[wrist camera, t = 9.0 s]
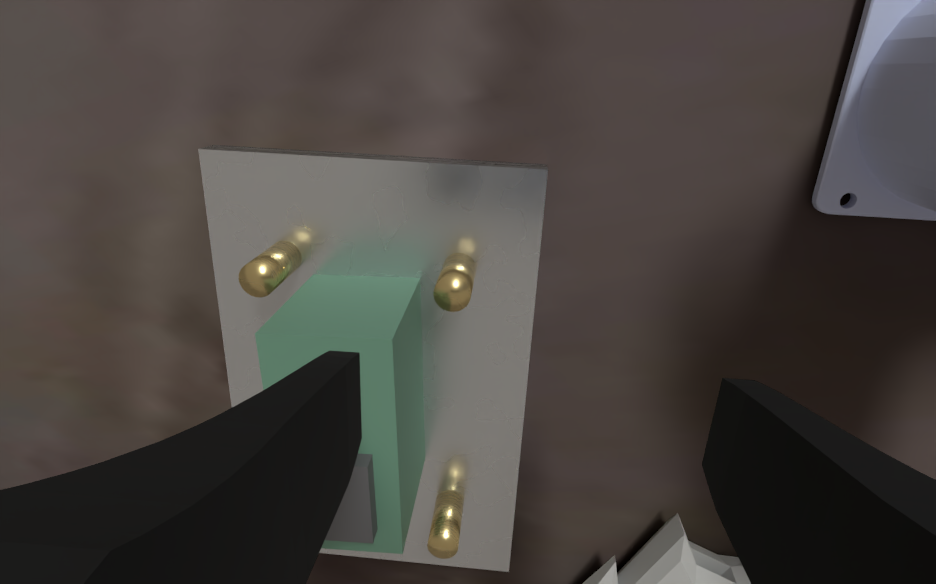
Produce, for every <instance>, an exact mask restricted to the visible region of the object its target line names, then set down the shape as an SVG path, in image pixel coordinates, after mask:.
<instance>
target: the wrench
mask: <svg viewBox="0 0 936 584" xmlns="http://www.w3.org/2000/svg"><path fill="white" fill-rule="evenodd" d="M582 584H751V582H750V580H749V578H748V576H747V574H746V572H745V570H744V568H743V566H742V564H741V562H740V560H739V558H738V557H733V556H725V555H717V554H715V553H713V552H711V551H709V550H707V549H705V548H703V547H701V546H699V545H696V544H694V543H692V542H690V541H688V539H687V536H686V533H685V531H684V528H683V525H682V523H681V520H680V517H679V515H678V513H677V514H676V515H674V516H673V517H672V518H670V519H669V520H668V521H667V522H666V523H665V524H664V525H663V526H662V527H661V528H660V529H659V530H658V531H657V532H656V533H655V534H654V535H653V536H652V537H651V538H650V539H649V540H648V541H647V543H646V544H645V545H644V546H643V547H642V548H641V549H640V550H639V551H638V552H637V553H636V554H635V555H634V556H633V557H632V558H631V559H630V560H629V561H628V562H627V563H626V564H625V565H624V566H623V567H622V568H621V569H620V571H619V572H618V573H617V568H616V559H615V555H614V556H613V557H612V558H611V559H610V560H609V561H607V562H606V563H605V564H604V565H603V566H602V567H601V568H600V569H598V570H597V571H596V572H595V573H594V574H593V575H592V576H590V577H589V578H588V579H587V580H586V581H585V582H584V583H582Z"/></svg>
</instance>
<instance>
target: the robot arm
mask: <svg viewBox="0 0 936 584" xmlns="http://www.w3.org/2000/svg"><path fill="white" fill-rule="evenodd" d="M846 193H850V200H849V202H848V203H846V204H845V205H842V206H841V205H840V199H841V198H842V196H843V195H845V194H846ZM812 204H813V206H814V208H815V209H817V210H818V211H820V212H822V213H826V214H834V215H850V216H866V217H883V218H899V219H915V220H931V221H936V0H866V2H865V6H864V10H863V13H862V17H861V21H860V24H859V28H858V32H857V35H856V39H855V43H854V46H853V50H852V53H851V57H850V61H849V64H848V68H847V72H846V75H845V79H844V83H843V86H842V90H841V94H840V97H839V101H838V104H837V108H836V112H835V115H834V119H833V123H832V126H831V130H830V134H829V137H828V141H827V145H826V148H825V152H824V155H823V159H822V163H821V166H820V170H819V174H818V177H817V181H816V185H815V188H814V192H813V196H812ZM361 439H362V424H361V387H360V353H358V352H344V351H328V352H326V353H324V354H322V355H320V356H319V357H317V358H315V359H314V360H312V361H310V362H309V363H307V364H305V365H304V366H302V367H301V368H299V369H297V370H296V371H294V372H293V373H291V374H289V375H288V376H286V377H284V378H283V379H281V380H280V381H278V382H276V383H275V384H273V385H271V386H270V387H268V388H266V389H265V390H263V391H261V392H260V393H258V394H256V395H254V396H252V397H251V398H249V399H247V400H245V401H243V402H241V403H240V404H238V405H236V406H234V407H232V408H231V409H229V410H227V411H225V412H223V413H221V414H219V415H217V416H215V417H213V418H211V419H209V420H207V421H205V422H203V423H201V424H199V425H197V426H194V427H192V428H190V429H188V430H185V431H183V432H181V433H178V434H176V435H174V436H172V437H169V438H167V439H164V440H162V441H159V442H157V443H154V444H151V445H149V446H146V447H143V448H140V449H137V450H135V451H132V452H129V453H126V454H124V455H121V456H118V457H115V458H112V459H110V460H107V461H104V462H101V463H98V464H95V465H92V466H88V467H85V468H82V469H78V470H75V471H72V472H68V473H65V474H61V475H58V476H54V477H50V478H47V479H43V480H39V481H35V482H32V483H28V484H24V485H20V486H16V487H12V488H8V489H3V490H0V584H306V582H307V580H308V577H309V575H310V573H311V570H312V568H313V566H314V563H315V561H316V559H317V556H318V554H319V552H320V550H321V547H322V545H323V543H324V540H325V538H326V536H327V533H328V531H329V529H330V527H331V524H332V522H333V520H334V517H335V515H336V513H337V510H338V508H339V506H340V503H341V501H342V499H343V496H344V494H345V492H346V489H347V487H348V484H349V482H350V479H351V476H352V472H353V469H354V465H355V462H356V458H357V454H358V451H359V447H360V443H361ZM702 466H703V469H704V473H705V476H706V480H707V483H708V486H709V490H710V493H711V496H712V499H713V502H714V505H715V508H716V511H717V513H718V515H719V517H720V519H721V522H722V524H723V526H724V528H725V530H726V532H727V534H728V537H729V539H730V541H731V543H732V545H733V547H734V549H735V551H736V553H737V555H738V558H739V560H740V562H741V564H742V566H743V568H744V570H745V572H746V574H747V576H748V578H749V580H750V582H751V584H936V480H935V479H933V478H931V477H929V476H927V475H925V474H923V473H921V472H919V471H917V470H915V469H913V468H911V467H909V466H907V465H905V464H904V463H902V462H900V461H898V460H896V459H894V458H892V457H890V456H889V455H887V454H885V453H883V452H881V451H879V450H877V449H876V448H874V447H872V446H870V445H868V444H867V443H865V442H863V441H861V440H860V439H858V438H856V437H854V436H853V435H851V434H849V433H847V432H846V431H844V430H842V429H841V428H839V427H837V426H835V425H834V424H832V423H830V422H829V421H827V420H825V419H824V418H822V417H820V416H819V415H817V414H815V413H813V412H812V411H810V410H808V409H807V408H805V407H803V406H802V405H800V404H798V403H797V402H795V401H793V400H791V399H790V398H788V397H786V396H784V395H783V394H781V393H779V392H777V391H775V390H774V389H772V388H770V387H768V386H766V385H764V384H762V383H759V382H757V381H755V380H742V379H728V378H722V383H721V387H720V391H719V395H718V399H717V403H716V408H715V412H714V416H713V420H712V424H711V428H710V433H709V437H708V441H707V445H706V449H705V454H704V458H703V462H702Z"/></svg>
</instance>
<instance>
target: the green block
mask: <svg viewBox="0 0 936 584" xmlns="http://www.w3.org/2000/svg"><path fill="white" fill-rule="evenodd" d="M255 338H256V345H257V351H258V358H259V365H260V372H261V378H262V385H263V390H265V389H266V388H268V387H270V386H271V385H273V384H275V383H276V382H278V381H280V380H281V379H283V378H284V377H286V376H288V375H289V374H291V373H293V372H294V371H296V370H297V369H299V368H301V367H302V366H304V365H305V364H307V363H309V362H310V361H312V360H314V359H315V358H317V357H319V356H320V355H322V354H324V353H326V352H328V351H344V352H358V353H360V387H361V424H362V439H361V443H360V447H359V451H358V454H357V458H356V462H355V465H354V469H353V472H352V476H351V479H350V482H349V484H348V487H347V489H346V492H345V494H344V496H343V499H342V501H341V503H340V506H339V508H338V510H337V513H336V515H335V517H334V520H333V522H332V524H331V527H330V529H329V531H328V533H327V536H326V538H325V540H324V543H323V545H322V547H321V548H323V549H338V550H352V551H366V552H381V553H395V554H403V551H404V546H405V542H406V538H407V534H408V529H409V525H410V521H411V517H412V512H413V508H414V504H415V500H416V496H417V491H418V487H419V483H420V479H421V474H422V470H423V466H424V462H425V430H424V394H423V357H422V320H421V284H420V278H402V277H373V276H343V275H312V276H311V277H310V278H309V279H308V280H307V281H306V282H305V283H304V284H303V285H302V286H301V287H300V288H299V289H298V290H297V291H296V292H295V293H294V294H293V295H292V296H291V297H290V298H289V299H288V300H287V301H286V302H285V303H284V305H283V306H282V307H281V308H280V309H279V310H278V311H277V312H276V313H275V314H274V315H273V316H272V317H271V318H270V319H269V320H268V321H267V322H266V323H265V324H264V325H263V326H262V327H261V328H260V329H259V330H258V331H257V332H256V333H255Z"/></svg>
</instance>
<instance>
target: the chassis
mask: <svg viewBox="0 0 936 584" xmlns="http://www.w3.org/2000/svg"><path fill="white" fill-rule="evenodd" d="M198 151H199V158H200V166H201V174H202V181H203V189H204V197H205V205H206V212H207V220H208V228H209V235H210V243H211V251H212V259H213V266H214V274H215V282H216V289H217V297H218V305H219V312H220V320H221V328H222V336H223V343H224V351H225V359H226V366H227V374H228V382H229V390H230V397H231V405H232V407H234V406H236V405H238V404H240V403H241V402H243V401H245V400H247V399H249V398H251V397H252V396H254V395H256V394H258V393H260V392H261V391H263V385H262V378H261V372H260V365H259V358H258V351H257V345H256V338H255V333H256V332H257V331H258V330H259V329H260V328H261V327H262V326H263V325H264V324H265V323H266V322H267V321H268V320H269V319H270V318H271V317H272V316H273V315H274V314H275V313H276V312H277V311H278V310H279V309H280V308H281V307H282V306H283V305H284V303H285V302H286V301H287V300H288V299H289V298H290V297H291V296H292V295H293V294H294V293H295V292H296V291H297V290H298V289H299V288H300V287H301V286H302V285H303V284H304V283H305V282H306V281H307V280H308V279H309V278H310V277H311V276H312V275H343V276H373V277H402V278H420V284H421V320H422V357H423V394H424V430H425V462H424V466H423V470H422V474H421V479H420V483H419V487H418V491H417V496H416V500H415V504H414V508H413V512H412V517H411V521H410V525H409V529H408V534H407V538H406V542H405V546H404V551H403V554H395V553H381V552H366V551H352V550H338V549H323V548H321V550H320V552H319V553H326V554H336V555H346V556H356V557H366V558H376V559H386V560H395V561H405V562H415V563H425V564H435V565H445V566H455V567H465V568H475V569H485V570H494V571H504V572H509V565H510V555H511V545H512V534H513V524H514V514H515V503H516V493H517V483H518V472H519V462H520V452H521V441H522V431H523V421H524V410H525V400H526V390H527V379H528V369H529V359H530V348H531V338H532V328H533V317H534V307H535V297H536V286H537V276H538V266H539V255H540V245H541V235H542V224H543V214H544V204H545V193H546V183H547V173H548V169H547V165H541V164H524V163H507V162H490V161H473V160H456V159H438V158H421V157H404V156H387V155H370V154H353V153H336V152H319V151H302V150H285V149H268V148H251V147H234V146H217V145H212V146H208V147H204V148H200V149H198Z"/></svg>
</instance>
